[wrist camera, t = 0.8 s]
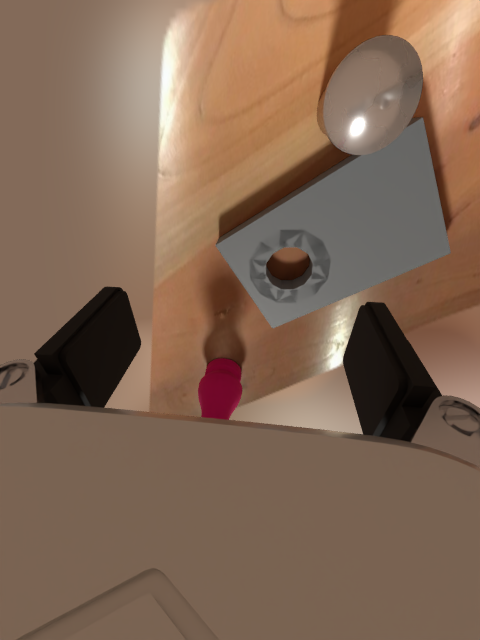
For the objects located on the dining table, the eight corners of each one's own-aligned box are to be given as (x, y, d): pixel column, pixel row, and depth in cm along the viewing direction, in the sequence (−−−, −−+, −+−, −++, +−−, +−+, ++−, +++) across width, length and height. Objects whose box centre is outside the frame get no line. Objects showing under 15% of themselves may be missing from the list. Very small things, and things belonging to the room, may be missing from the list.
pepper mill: (202, 354, 45) (164, 479, 29) (244, 357, 44) (229, 486, 28) (205, 382, 49) (173, 505, 33) (243, 385, 49) (230, 511, 33)
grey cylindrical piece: (364, 45, 22) (410, 5, 15) (384, 121, 25) (431, 118, 17) (297, 96, 24) (309, 83, 17) (323, 160, 27) (342, 172, 20)
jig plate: (410, 118, 24) (423, 117, 22) (438, 244, 31) (450, 253, 29) (218, 238, 33) (215, 245, 31) (272, 318, 39) (272, 328, 37)
